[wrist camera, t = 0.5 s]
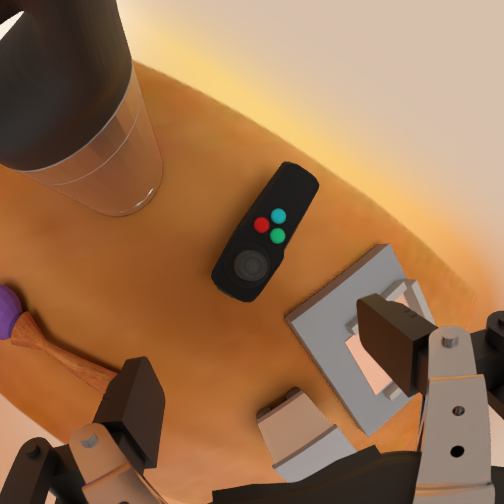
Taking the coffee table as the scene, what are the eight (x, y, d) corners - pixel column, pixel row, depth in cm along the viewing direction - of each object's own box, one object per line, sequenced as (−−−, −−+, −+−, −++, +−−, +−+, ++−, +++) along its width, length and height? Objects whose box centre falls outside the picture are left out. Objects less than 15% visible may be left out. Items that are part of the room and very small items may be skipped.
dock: (283, 317, 31) (299, 327, 26) (377, 244, 33) (403, 242, 28) (359, 428, 33) (378, 446, 28) (431, 361, 35) (454, 370, 30)
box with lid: (250, 412, 30) (273, 469, 19) (297, 381, 31) (337, 427, 21) (275, 439, 30) (303, 495, 20) (318, 410, 31) (360, 457, 21)
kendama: (116, 427, 24) (-35, 327, 19) (126, 394, 29) (-8, 309, 25) (133, 391, 23) (-30, 282, 19) (143, 359, 29) (0, 268, 24)
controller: (201, 274, 29) (203, 283, 20) (266, 175, 31) (297, 140, 21) (237, 297, 30) (257, 316, 20) (299, 198, 31) (342, 174, 22)
